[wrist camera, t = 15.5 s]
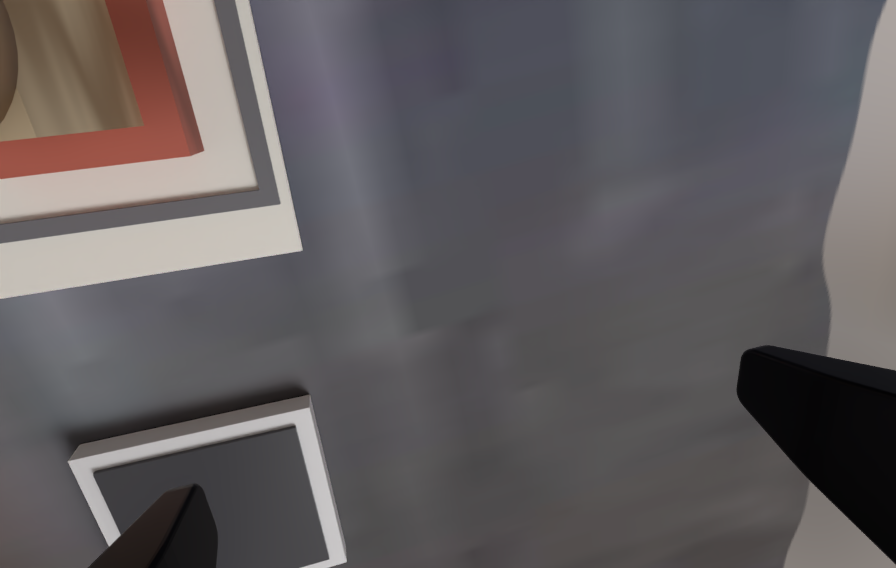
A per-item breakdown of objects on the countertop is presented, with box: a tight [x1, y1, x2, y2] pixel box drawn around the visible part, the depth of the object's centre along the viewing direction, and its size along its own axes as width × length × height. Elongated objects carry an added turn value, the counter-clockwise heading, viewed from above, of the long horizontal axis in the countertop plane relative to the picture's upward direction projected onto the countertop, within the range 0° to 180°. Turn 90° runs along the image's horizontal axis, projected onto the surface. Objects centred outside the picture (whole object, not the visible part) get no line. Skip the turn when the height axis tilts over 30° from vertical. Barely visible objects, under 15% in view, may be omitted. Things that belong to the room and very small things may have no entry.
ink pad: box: [68, 395, 347, 568], centre depth 21 cm, size 9×9×1 cm
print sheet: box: [0, 0, 303, 299], centre depth 15 cm, size 14×11×1 cm
